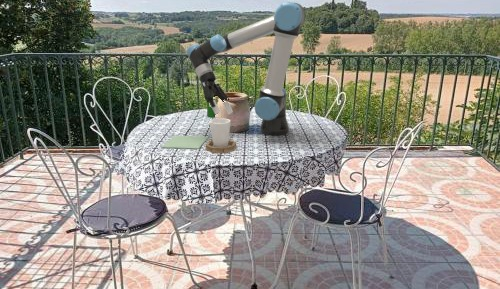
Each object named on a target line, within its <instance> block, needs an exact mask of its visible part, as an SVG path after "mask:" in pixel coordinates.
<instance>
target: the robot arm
mask: <svg viewBox="0 0 500 289" xmlns="http://www.w3.org/2000/svg"><path fill="white" fill-rule="evenodd" d="M305 19H306V9H304V7H303V6H302V5H301V4H300V3H297V2H292V1H286V2H283V3H280V5H279V6H278V7H277V8H276V10H275V12H274V15H271V16H268V17H266V18H264V19H262V20H259V21H257V22H253V23H251V24H250V25H247V26H244V27H242V28H239V29H237V30H235V31H234V30H233V31H232V32H230V33H227V34H225V35H221V34H219V33H217V34H216V35H214V36H212V37H210V38H209V39H208V40H206V42H203V43H202V44H201V45H200V44H199V43H195V44H193V45H190V46H188V48H187V50H186V53H187V56H188V59H189V60H190V63H191V65H192V66H193V70H194V71H195V73H196V76H197V77H198V78H199V81H200V83H201V87H202V91H203V94H204V95H203V96H204V99H205V101H206V104H207V103H208V102H209V103H210V105H211V107H212V109H213V111H214V113H215V115H216V114H218V113H219V112H220V110H219V108H218V106H217V104H216V102H215V100H213V93H214V94H216V95H217V96H218V97H219V98H220V99H221V100H222V106H223V107H224V109H225V111H226V113H227V115H229V116H230V115H232V114H233V113H234V110H233V109H232V107H231V105H230V102H229V101H230V98H229V97H228V95H227V94H226V92H225V91H224V90H223V88H221V86H220V83H216V79H217V77H216V75H215V73H214V71H213V69H212V67H211V65H210V63H209V60H210V59H212V58H213V57H215V56H216V55H218V54H221V53H226V52H228V51H230V50H232V49H235V48H238V47H240V46H243V45H246V44H247V43H251V42H253V41H256V40H258V39H261V38H264V37H266V36H269V35H271V34H274V35H275V36H274V41H273V45H272V50H271V55H270V59H269V64H268V67H267V73H266V77H265V81H264V86H262V87H260V89H259V94H258V99H257V100H256V102H255V104H254V112H255V114H256V115H257V117H258V118H259V119H261V124H260V127H259V130H260V133H261V134H264V135H269V136H280V135H282V136H283V135H285V134H289V132H290V126H289V124H288V121H287V115H286V114H287V110H286V109H287V105H286V104H287V90H286V88H283V87H284V83H285V79H286V74H287V70H288V67H289V62H290V58H291V54H292V50H293V44H294V40H296V39H297V38H298V37H299V34H300V31H301V26H303V24H304V22H305ZM227 98H228V101H226V102H224V101H223V100H224V99H225V100H227ZM223 102H224V103H223ZM228 102H229V103H228Z"/></svg>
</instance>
